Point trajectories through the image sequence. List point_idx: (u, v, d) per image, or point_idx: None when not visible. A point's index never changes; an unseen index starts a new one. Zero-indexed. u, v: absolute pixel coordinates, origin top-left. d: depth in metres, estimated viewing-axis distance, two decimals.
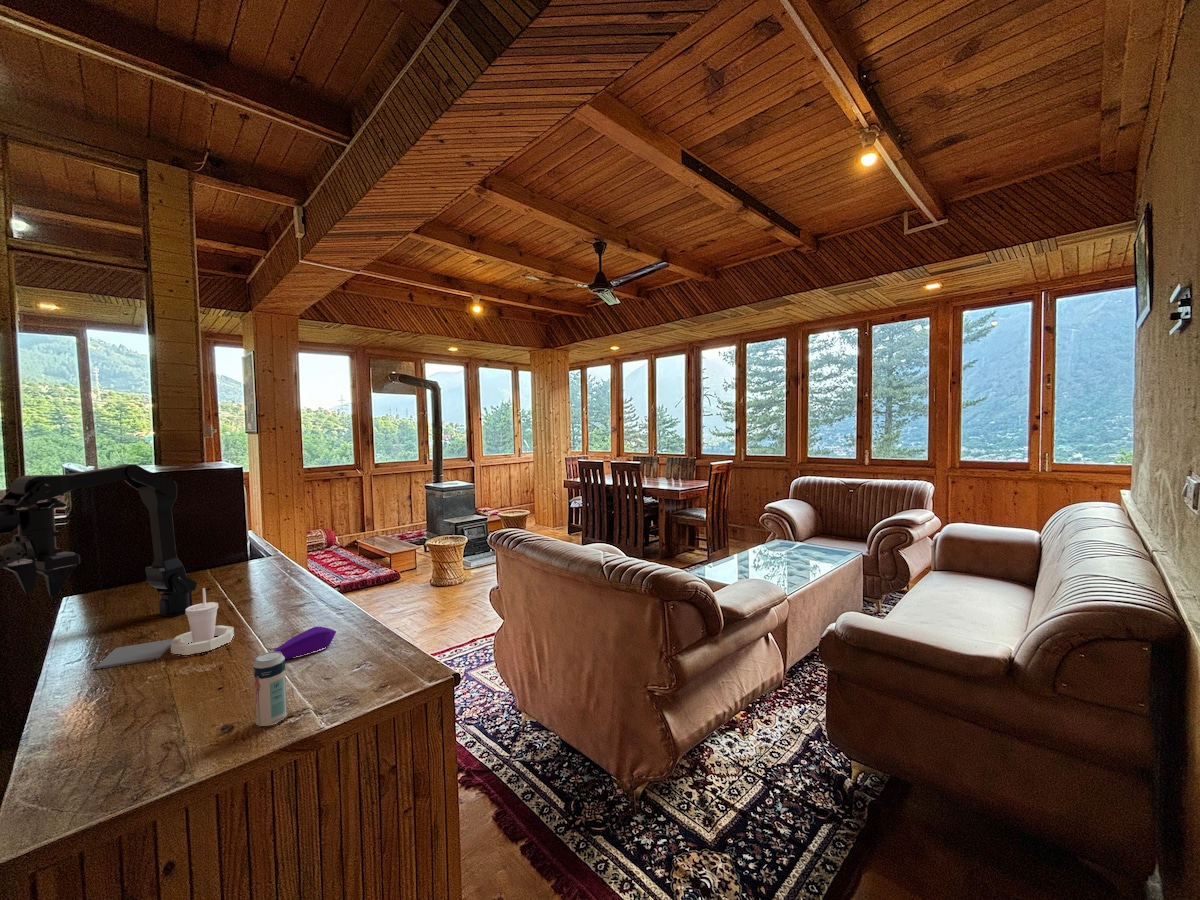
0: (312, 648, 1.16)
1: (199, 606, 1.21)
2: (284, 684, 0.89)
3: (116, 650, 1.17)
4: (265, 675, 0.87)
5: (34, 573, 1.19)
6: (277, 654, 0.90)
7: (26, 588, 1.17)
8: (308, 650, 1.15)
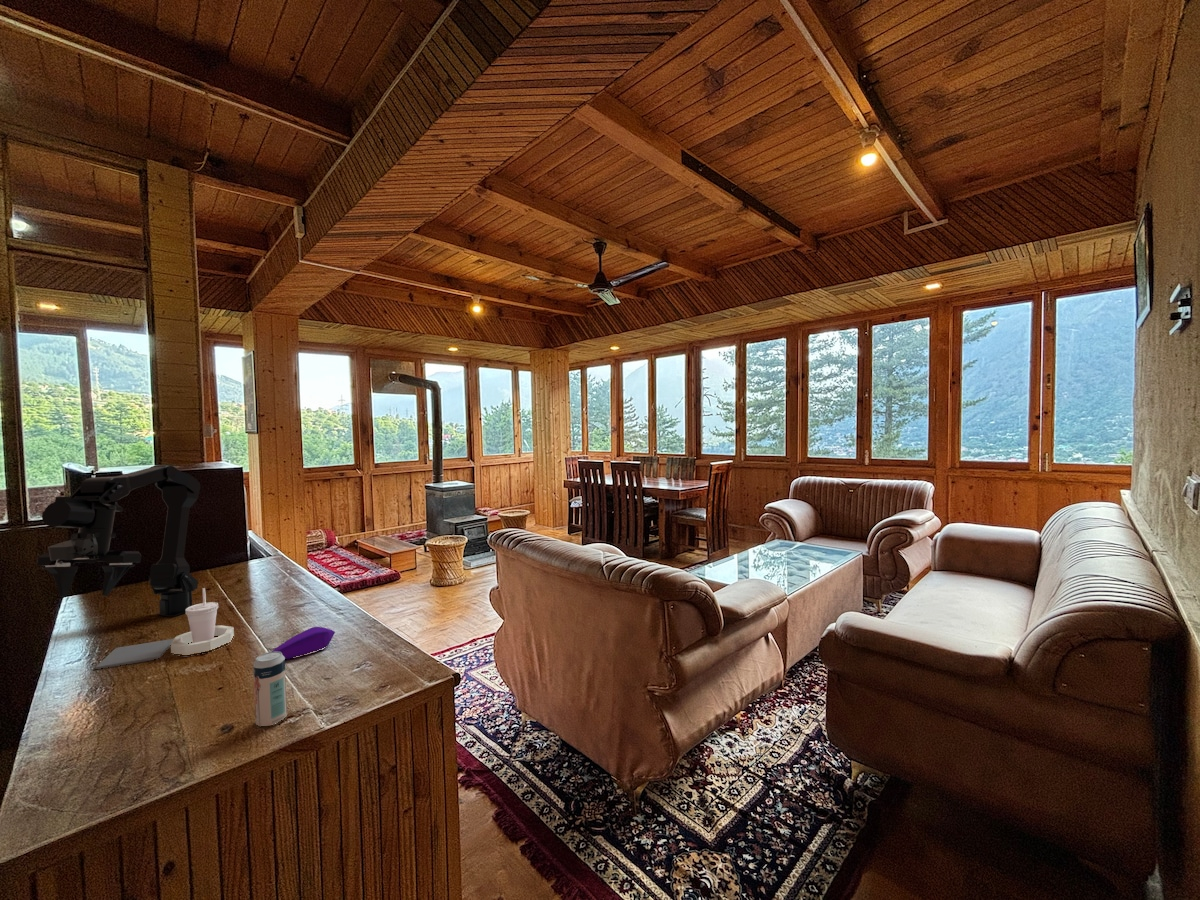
0: (311, 648, 1.16)
1: (199, 606, 1.21)
2: (284, 684, 0.89)
3: (116, 650, 1.17)
4: (264, 675, 0.87)
5: (70, 577, 1.18)
6: (277, 654, 0.90)
7: (63, 591, 1.15)
8: (306, 650, 1.15)
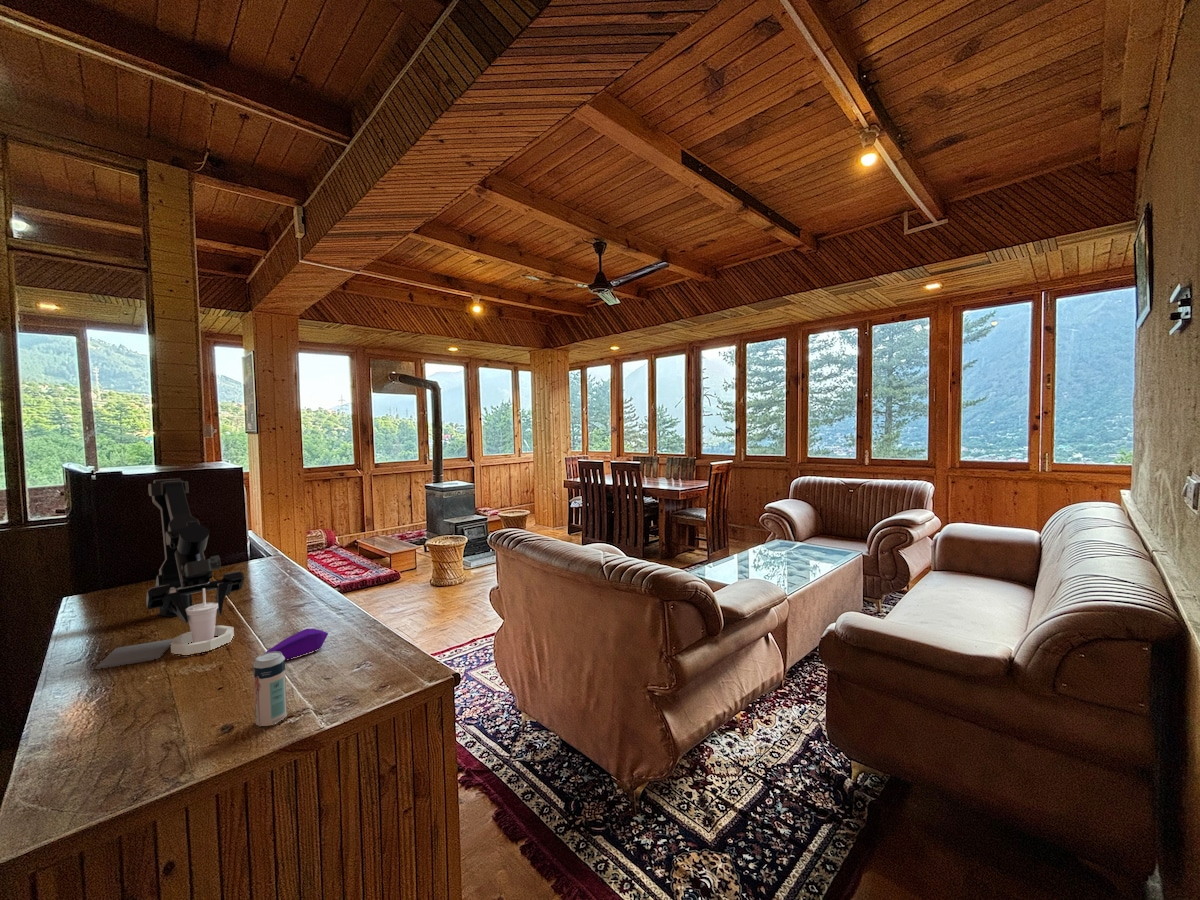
0: (304, 650, 1.15)
1: (199, 606, 1.21)
2: (284, 684, 0.89)
3: (116, 650, 1.17)
4: (264, 675, 0.87)
5: None
6: (277, 654, 0.90)
7: (186, 616, 1.18)
8: (299, 652, 1.14)
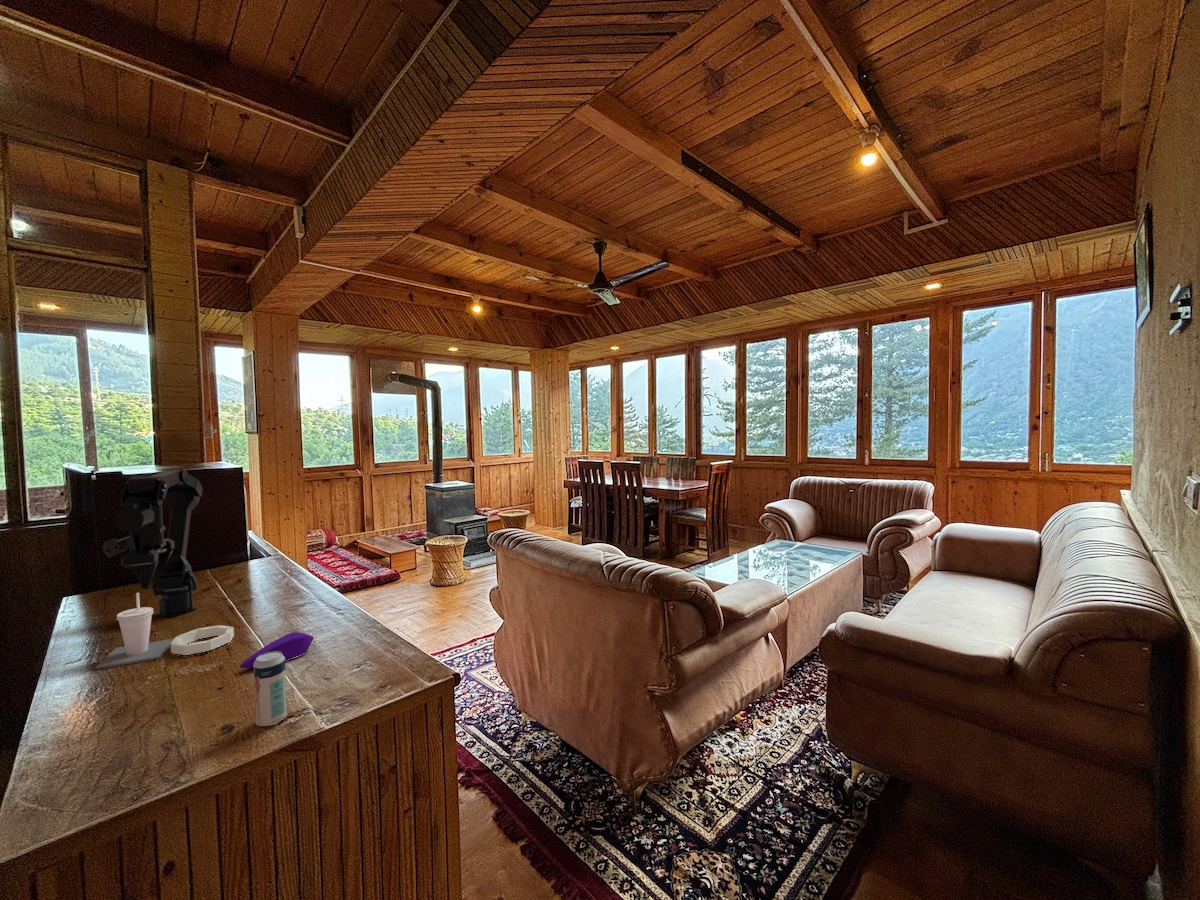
0: (289, 654, 1.13)
1: (132, 611, 1.16)
2: (284, 684, 0.89)
3: (116, 650, 1.17)
4: (265, 675, 0.87)
5: (163, 562, 1.34)
6: (277, 654, 0.90)
7: (154, 575, 1.32)
8: (284, 656, 1.12)
